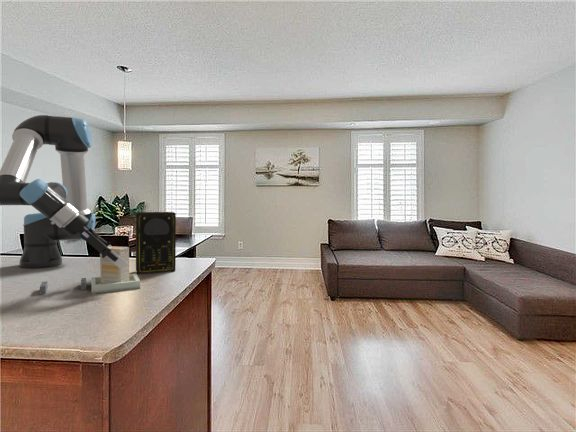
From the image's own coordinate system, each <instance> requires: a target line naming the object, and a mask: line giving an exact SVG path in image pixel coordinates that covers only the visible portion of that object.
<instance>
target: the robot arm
mask: <svg viewBox="0 0 576 432" xmlns="http://www.w3.org/2000/svg"><path fill="white" fill-rule="evenodd" d="M91 133H92V132H91V129H90V126H89V124H88V122H87V120H85V119H82V118H76V117H70V116H56V115H55V116H54V115H47V114H46V115H45V114H39V115H34V116H31V117H29V118H27V119H25V120H23V121H21V123H19V124H18V125H17V126H16V127H15V129H14V130H13V132H12V135H11V138H12V140H13V141H12V143H11V146H10V147H9V149H8V152H7V155H6V157H5V158H4V161H3V162H2V166H1V167H0V206H31V207H33V208H34V209H35V210H37V211H38V212H36V213H35V212H34V213H27V214H26V215H24V217H23V224H22V225H23V246H24V248H23V251H22V254H21V257H20V259H19V262H18V263H19V267H20V268H25V269H37V268H50V267H54V266H59V265H61V264H63V256H62V255H61V252H60V251H59V248H58V241H85V242H86V243H87V244H88V245H90V246H91V247H93V248H94V250H97V252H98V253H99V254H100V253H101V254H102V256H101V257H102V258H104V257H106V258H108V259H109V260H110V261H111V262H113V263H114V264H115V265H116V266H118V267H119V268H120V269H122V268H123V267H124V266H125V265H126V264H127V262H126V261H124V260H123V259H122V258H121V257H120V256H118V255H117V254H116V253H115V252H113V251H112V250H111V249H109V248H108V246H112V245H111V242H110V241H109V240H108V241H107V240H105V239H104V238H102V237H101V236H100V235H99V234H98V233H97V232H95V228H96V227H95V226H96V218H97V217H96V214H93V213H92V210H91V209H90V208H89V207H88V199H87V182H86V180H87V179H86V166H85V165H86V163H85V155H86V154H87V153H88V151H89V149H88V148H92V145H93V143H92V140H93V139H92V134H91ZM43 145H49V146H54V147H55V152H57V153H58V154H59V155H60V156H59V157H60V167H61V168H60V169H61V180H62V183H60V182H55V181H53V182H45V181H44V180H42V179H41V178H37V179H34V180H33V181H31V182H26V180H27V179H28V176H29V174H30V173H29V172H30V171H31V168H32V165H33V162H34V160H35V158H36V155H37V152H38V150H39V149H41V148H42V147H43Z"/></svg>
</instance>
